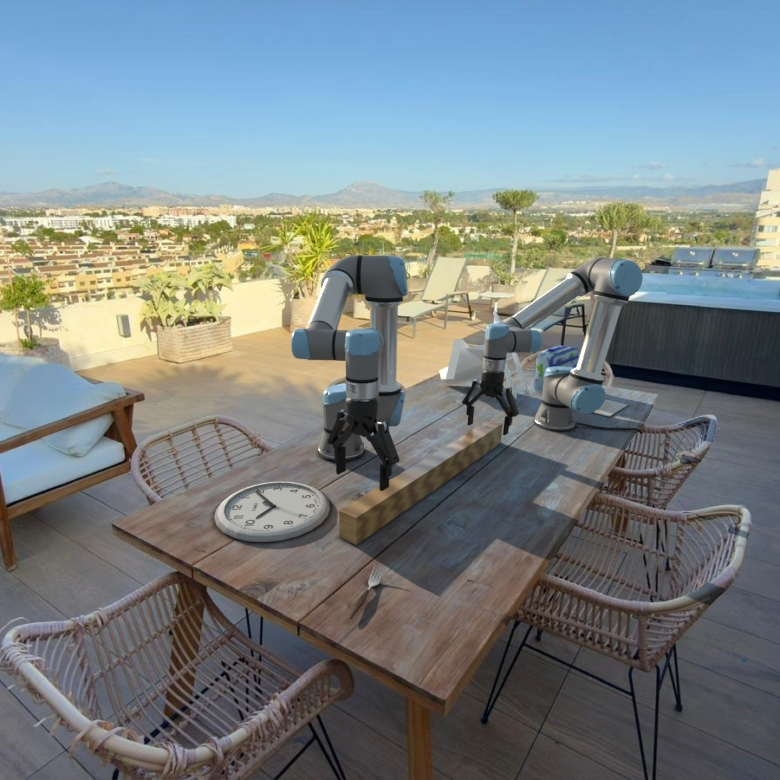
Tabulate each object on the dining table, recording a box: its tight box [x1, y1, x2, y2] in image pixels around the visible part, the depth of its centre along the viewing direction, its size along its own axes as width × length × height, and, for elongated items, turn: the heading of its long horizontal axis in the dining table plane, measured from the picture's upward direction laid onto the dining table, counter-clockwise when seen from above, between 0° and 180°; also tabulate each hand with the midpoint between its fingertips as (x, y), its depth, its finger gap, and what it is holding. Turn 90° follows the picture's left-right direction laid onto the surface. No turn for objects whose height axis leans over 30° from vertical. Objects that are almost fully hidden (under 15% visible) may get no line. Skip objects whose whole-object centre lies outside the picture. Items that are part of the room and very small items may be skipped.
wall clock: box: [213, 481, 331, 543], centre depth 139 cm, size 30×2×30 cm
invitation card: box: [592, 398, 629, 418], centre depth 226 cm, size 21×1×15 cm
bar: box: [338, 419, 504, 546], centre depth 156 cm, size 80×5×7 cm, turn 143°
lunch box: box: [533, 345, 580, 393], centre depth 245 cm, size 26×11×21 cm, turn 135°
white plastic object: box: [438, 310, 531, 400], centre depth 245 cm, size 37×45×31 cm
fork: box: [349, 563, 386, 620], centre depth 108 cm, size 3×16×2 cm, turn 160°
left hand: (362, 480), depth 127 cm, fingers open, 13 cm apart
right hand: (487, 429), depth 182 cm, fingers open, 13 cm apart
